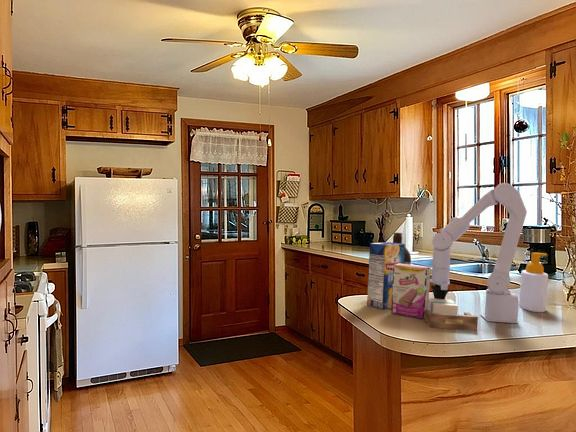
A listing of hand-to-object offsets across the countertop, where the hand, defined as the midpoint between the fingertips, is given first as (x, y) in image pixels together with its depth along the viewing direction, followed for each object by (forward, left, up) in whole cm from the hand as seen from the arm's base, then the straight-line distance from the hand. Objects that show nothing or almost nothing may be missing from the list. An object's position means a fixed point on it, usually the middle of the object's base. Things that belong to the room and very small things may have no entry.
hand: (438, 307), depth 163 cm
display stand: (0, +18, -1) cm, 18 cm away
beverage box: (+18, -3, -2) cm, 18 cm away
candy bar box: (+11, +9, -2) cm, 14 cm away
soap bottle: (-36, -14, -2) cm, 39 cm away
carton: (0, +6, -1) cm, 6 cm away
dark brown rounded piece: (+13, -17, -2) cm, 22 cm away
